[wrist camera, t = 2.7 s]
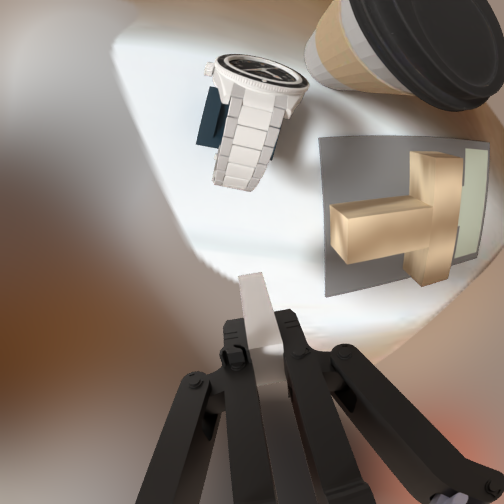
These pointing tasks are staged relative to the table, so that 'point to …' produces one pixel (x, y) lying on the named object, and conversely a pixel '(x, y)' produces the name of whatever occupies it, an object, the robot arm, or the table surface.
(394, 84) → the coffee cup
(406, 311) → the table surface
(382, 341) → the table surface
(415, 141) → the mat
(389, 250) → the t block
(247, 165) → the watch
